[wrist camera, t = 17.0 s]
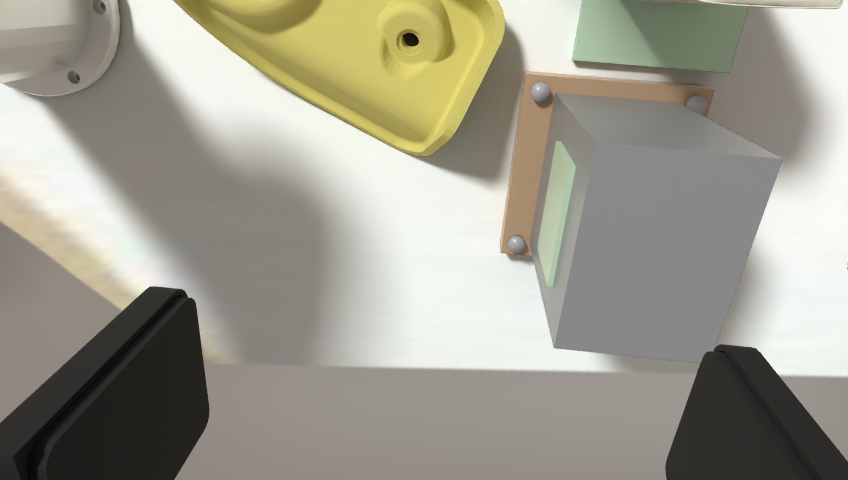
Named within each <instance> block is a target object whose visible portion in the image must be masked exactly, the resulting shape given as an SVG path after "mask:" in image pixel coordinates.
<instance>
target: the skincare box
mask: <svg viewBox="0 0 848 480" xmlns="http://www.w3.org/2000/svg"><path fill="white" fill-rule="evenodd" d="M636 1H647V2H661V3H681V4H706V5H726V6H746V7H767V8H802V9H838V8H839V7H840V6H841V5H842V2H843V0H636Z"/></svg>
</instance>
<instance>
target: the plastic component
mask: <svg viewBox="0 0 848 480" xmlns="http://www.w3.org/2000/svg"><path fill="white" fill-rule="evenodd" d="M173 1H174V2H175V3H176V4H177V5H179V6H180V7H181V8H182V9H183V10H184V11H185V12H186V13H187V14H188V15H189V16H190V17H192V18H193V19H194V20H195V21H196V22H197V23H198V24H200V25H201V26H202V27H203V28H204V29H205V30H207V31H208V32H209V33H210V34H211V35H213V36H214V37H215V38H216V39H218V40H219V41H220V42H221V43H223V44H224V45H225V46H226V47H228V48H229V49H230V50H231V51H233V52H234V53H235V54H237V55H238V56H240V57H241V58H242V59H244V60H245V61H246V62H248V63H249V64H250V65H252V66H253V67H255V68H256V69H258V70H259V71H261V72H262V73H264V74H265V75H267V76H268V77H270V78H271V79H273V80H274V81H276V82H277V83H279V84H281V85H282V86H284V87H285V88H287V89H289V90H290V91H292V92H294V93H295V94H297V95H299V96H300V97H302V98H304V99H306V100H307V101H309V102H311V103H313V104H315V105H317V106H318V107H320V108H322V109H324V110H326V111H328V112H329V113H331V114H333V115H335V116H337V117H339V118H340V119H342V120H344V121H346V122H348V123H350V124H351V125H353V126H355V127H357V128H359V129H361V130H362V131H364V132H366V133H368V134H370V135H372V136H373V137H375V138H377V139H379V140H381V141H383V142H384V143H386V144H388V145H390V146H392V147H394V148H396V149H398V150H400V151H403V152H406V153H409V154H412V155H416V156H430V155H431V154H433V153H434V152H435V151H436V150H438V149H439V148H440V147H442V146H443V145H444V144H445V143H447V142H448V141H449V140H450V139H451V138H452V136H453V135H454V133H455V132H456V130H457V129H458V127H459V125H460V123H461V121H462V119H463V117H464V116H465V114H466V112H467V110H468V108H469V106H470V104H471V102H472V100H473V98H474V96H475V94H476V92H477V90H478V88H479V86H480V84H481V82H482V80H483V78H484V76H485V74H486V72H487V70H488V68H489V66H490V64H491V62H492V60H493V58H494V56H495V54H496V52H497V50H498V48H499V46H500V44H501V42H502V39H503V35H504V32H505V19H504V15H503V10H502V8H501V6H500V3H499V1H498V0H173ZM408 32H409V33H414V34H415V35H416V36H417V37H418V39H419V44H418V45H416V46H409V45H407V44H406V43H405V42H404V39H403V35H404V34H406V33H408Z"/></svg>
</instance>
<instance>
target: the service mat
mask: <svg viewBox="0 0 848 480" xmlns="http://www.w3.org/2000/svg"><path fill="white" fill-rule="evenodd" d="M747 10H748V7H746V6H726V5H706V4H681V3H661V2H647V1H636V0H582V5H581V11H580V16H579V22H578V28H577V34H576V39H575V45H574V51H573V56H572V60H576V61H589V62H601V63H614V64H626V65H638V66H651V67H663V68H675V69H688V70H700V71H713V72H725V73H729V71H730V68H731V64H732V61H733V58H734V54H735V51H736V48H737V44H738V41H739V37H740V34H741V31H742V27H743V24H744V21H745V17H746V14H747Z"/></svg>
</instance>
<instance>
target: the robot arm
mask: <svg viewBox="0 0 848 480" xmlns="http://www.w3.org/2000/svg"><path fill="white" fill-rule="evenodd" d="M105 7H106V9H105ZM119 34H120V15H119V6H118V0H0V83H3V84H4V85H6V86H8V87H10V88H13V89H16V90H18V91H21V92H24V93H27V94H32V95H38V96H60V95H65V94H70V93H74V92H76V91H79V90H82V89H84V88H87V87H88V86H90V85H91V84H93V83H94V82H96V81H97V80H98V79H99V78H100V77H101V76H102V75H103V74H104V73H105V71H106V70H107V69H108V67H109V66H110V64H111V62H112V60H113V58H114V56H115V53H116V49H117V45H118V42H119ZM208 418H209V402H208V394H207V387H206V379H205V371H204V363H203V355H202V347H201V340H200V332H199V324H198V316H197V308H196V303H195V301H194V299H192V298H188V296H187V294H186V292H185V291H184V290H182V289H174V288H164V287H149V288H148V289H146V290H145V291H144V292H143V293H142V294H141V295H140V296H138V297H137V298H136V299H135V300H134V301H133V302H132V303H131V304H130V305H129V306H128V307H126V308H125V309H124V310H123V311H122V312H121V313H120V314H119V315H118V316H117V317H116V318H114V319H113V320H112V321H111V322H110V323H109V324H108V325H107V326H106V327H105V328H104V329H102V330H101V331H100V332H99V333H98V334H97V335H96V336H95V337H94V338H93V339H92V340H90V341H89V342H88V343H87V344H86V345H85V346H84V347H83V348H82V349H81V350H80V351H78V353H76V354H75V355H74V356H73V357H72V358H71V359H70V360H69V361H67V362H66V363H65V364H64V365H63V366H62V367H61V368H60V369H59V370H58V371H57V372H56V373H54V374H53V375H52V376H51V377H50V378H49V379H48V380H47V381H46V382H45V383H44V384H42V385H41V386H40V387H39V388H38V389H37V390H36V391H35V392H34V393H33V394H31V395H30V396H29V397H28V398H27V399H26V400H25V401H24V402H23V403H22V404H21V405H19V406H18V407H17V408H16V409H15V410H14V411H13V412H12V413H11V414H10V415H9V416H7V417H6V418H5V419H4V420H3V421H2V422H1V423H0V480H174V479H175V477H176V476H177V474H178V472H179V471H180V469H181V467H182V466H183V464H184V463H185V461H186V459H187V458H188V456H189V454H190V453H191V451H192V449H193V447H194V446H195V444H196V443H197V441H198V440H199V438H200V436H201V435H202V433H203V431H204V430H205V428H206V425H207V422H208ZM666 478H667V480H848V461H847V460H846V459H845V458H844V456H843V455H842V454H841V453H840V451H839V450H838V449H837V448H836V446H835V445H834V444H833V443H832V442H831V440H830V439H829V438H828V436H827V435H826V434H825V433H824V431H823V430H822V429H821V428H820V427H819V425H818V424H817V423H816V422H815V420H814V419H813V418H812V417H811V415H810V414H809V413H808V412H807V410H806V409H805V408H804V407H803V405H802V404H801V403H800V402H799V400H798V399H797V398H796V397H795V395H794V394H793V393H792V392H791V390H790V389H789V388H788V387H787V386H786V384H785V383H784V382H783V380H782V379H781V378H780V377H779V375H778V374H777V373H776V372H775V370H774V369H773V368H772V367H771V365H770V364H769V363H768V362H767V360H766V359H765V358H764V357H763V355H762V354H761V353H760V352H759V351H758V350H757V349H755V348H752V347H742V346H733V345H723V344H721V345H718V346H717V347H716V348H715V349H714V350H713V352H712V351H709V352H706V353H705V354H704V356H703V358H702V361H701V364H700V366H699V369H698V372H697V375H696V378H695V381H694V384H693V387H692V389H691V392H690V395H689V398H688V401H687V404H686V406H685V409H684V412H683V415H682V418H681V421H680V423H679V426H678V429H677V432H676V435H675V438H674V440H673V443H672V446H671V449H670V452H669V455H668V458H667V461H666Z"/></svg>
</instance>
